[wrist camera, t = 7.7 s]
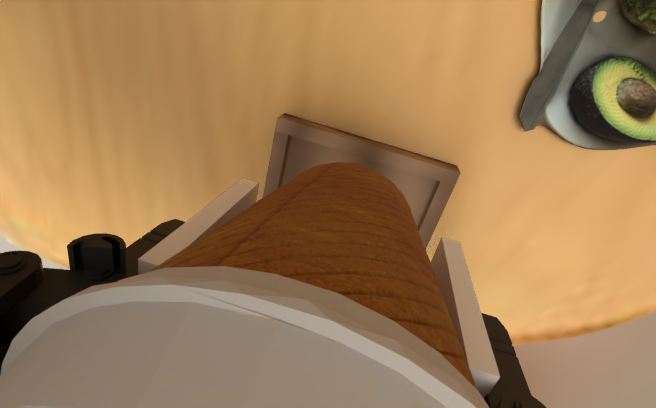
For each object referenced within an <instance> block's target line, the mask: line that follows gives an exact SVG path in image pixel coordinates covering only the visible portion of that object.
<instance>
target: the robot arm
mask: <svg viewBox="0 0 656 408" xmlns="http://www.w3.org/2000/svg"><path fill="white" fill-rule="evenodd" d="M258 185H259V183H257V182H254V181H250V180H247V179H244V178H242V179H241V180H240V181H238V182H237V183H236V184H234V185H233V186H232V187H231V188H229V189H228V190H227V191H225V192H224V193H223V194H221V195H220V196H219V197H218V198H216V199H215V200H214V201H212V202H211V203H210V204H209V205H207V206H206V207H205V208H203V209H202V210H201V211H200V212H198V213H197V214H196V215H194V216H193V217H192V218H190V219H189V220H188V221H187V222H183V221H180V220H177V219H174V220H170V221H167V222H164V223H161V224H160V225H158V226H157V227H156V228H154V229H153V230H151V232H148V233H147V234H146V235H144V236H143V237H142V239H141V238H140V239H138V240H137V241H136V242H134V243H133V244H131V245H130V246H128V247H127V248H126V243H125V242H124V240H123V239H122V238H120V237H118V236H116V235H111V234H91V235H86V236H82V237H80V238H78V239H75V240H73V241H72V242H71V243H70V244H68V245H67V249H68V256H69V264H70V270H64V269H50V268H43V267H42V261H41V258H40V257H39V256H38V255H37V254H35V253H32V252H29V251H11V252H4V253H0V375H1V368H2V363H3V360H4V358H5V356H6V354H7V351H8V349H9V347H10V344H11V342H12V340H13V339H14V338H15V336H16V335H17V334H18V333H19V332H20V331H21V330H22V329H23V328H24V327H25V325H26V324H27V323H28V322H29V321H30V320H31V319H33V318H34V317H36V316H37V315H39V314H40V313H42V312H44V311H45V310H47V309H48V308H50V307H51V306H53V305H55V304H57V303H59V302H61V301H62V300H64V299H66V298H68V297H70V296H72V295H75V294H77V293H79V292H81V291H83V290H85V289H87V288H89V287H91V286H95V285H101V284H108V283H114V282H117V281H119V280H122V279H125V278H129V277H133V276H136V275H140V274H144V273H147V272H149V271H151V270H152V269H154V268H155V267H157V266H158V265H160V264H162V263H163V262H164V261H166V260H168V259H169V258H171V257H172V256H174V255H176V254H177V253H179V252H181V251H182V250H183V249H185V248H186V247H188V246H190V245H191V244H193V243H194V242H196V241H198V240H199V239H200V238H202V237H203V236H205V235H206V234H208V233H210V232H211V231H213V230H214V229H216V228H217V227H219V226H220V225H222V224H224V223H225V222H227V221H228V220H230V219H231V218H233V217H235V216H236V215H238V214H239V213H241V212H242V211H244V210H246V209H247V208H249V207H250V206H252V205H253V204H255V203H256V199H257V192H258ZM430 264H431V266H432V269H433V271H434V274H435V277H436V280H437V282H438V285H439V289H440V291H441V293H442V295H443V298H444V302H445V305H446V307H447V310H448V312H449V315H450V318H451V321H452V323H453V324H454V327H455V330H456V333H457V340H458V341H459V342H460V345H461V347H462V349H463V352H464V354H465V360H466V361H465V362H466V363H467V364H468V366H469V369H470V371H471V374H472V376H473V379H474V381H475V386H474V387H475V388H476V389H477V390H478V391H479V393H480V394H481V396H482V397H483V399H484V400H485V402H486V403H487V405H488V406H489V408H546V407H545V406H544V405H543V404H542V403H541V402H539V401H538V400H537V399H535V398H534V397H533V396H531V393H530V391H529V388H528V385H527V382H526V380H525V377H524V374H523V372H522V369H521V366H520V364H519V361H518V358H517V357H516V353H515V350H514V347H513V346H512V342H511V339H510V337H509V334H508V331H507V330H506V329H505V327H504V326H503V325H502V324H501V322H500V321H499V320H498V319H497V318H496V317H493V316H489V315H486V314H483V313H481V311H480V307H479V304H478V301H477V297H476V294H475V291H474V287H473V284H472V281H471V277H470V274H469V271H468V267H467V264H466V261H465V257H464V254H463V250H462V247H461V244H460V242H458V241H455V240H451V239H448V238H444V237H442V238H441V240H440V242H439V244H438V247H437V249H436V251H435V254H434V256H433V258H432V261H431V263H430Z"/></svg>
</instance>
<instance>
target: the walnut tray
mask: <svg viewBox="0 0 656 408" xmlns="http://www.w3.org/2000/svg"><path fill="white" fill-rule="evenodd" d="M335 162H346V163H355V164H359V165H362V166H366V167H368V168H370V169H372V170H374V171H376V172H378V173H380V174H382V175H384V176H385V177H386V178H387V179H389V180H390V181H391V182H393V183H394V184H395V185H396V187H397V188H398V189H399V190H400V191H401V192H402V194H403V195H404V197H405V199H406V200H407V202H408V204H409V206H410V209H411V212H412V215H413V218H414V220H415V223H416V226H417V229H418V231H419V234H420V237H421V239H422V242H423V245H424V247H425V249H426V247H427V245H428V243H429V241H430V238H431V236H432V234H433V232H434V230H435V227H436V225H437V223H438V221H439V219H440V217H441V214H442V212H443V210H444V208H445V206H446V203H447V201H448V199H449V197H450V195H451V193H452V190H453V188H454V186H455V184H456V182H457V179H458V177H459V175H460V171H459V169H458V167H457V166H456V165H453V164H449V163H446V162H443V161H440V160H436V159H433V158H430V157H426V156H423V155H420V154H417V153H413V152H410V151H407V150H403V149H400V148H397V147H394V146H390V145H387V144H384V143H380V142H377V141H374V140H370V139H367V138H364V137H361V136H357V135H354V134H351V133H347V132H344V131H341V130H338V129H334V128H331V127H328V126H324V125H321V124H318V123H315V122H311V121H308V120H305V119H301V118H298V117H295V116H291V115H288V114H283V115H281V116H279V117H278V119H277V124H276V130H275V135H274V141H273V146H272V151H271V157H270V162H269V168H268V173H267V178H266V184H265V189H264V195H263V198H264V197H266V196H267V195H269V194H271V193H272V192H274V191H275V190H277V189H278V188H280V187H281V186H283V185H285V184H286V183H288V182H289V181H291V180H292V179H294V178H295V177H297V176H298V175H299V174H301V173H303V172H304V171H306V170H308V169H310V168H312V167H315V166H318V165H321V164H327V163H335Z"/></svg>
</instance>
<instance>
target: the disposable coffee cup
mask: <svg viewBox="0 0 656 408" xmlns="http://www.w3.org/2000/svg"><path fill="white" fill-rule="evenodd" d="M465 361H466V360H465V354H464V352H463V349H462V347H461V345H460V342H459V341H458V340H457V333H456V330H455V327H454V324H453V323H452V321H451V318H450V315H449V312H448V310H447V307H446V305H445V302H444V298H443V295H442V293H441V291H440V289H439V285H438V282H437V280H436V277H435V274H434V271H433V269H432V266H431V264H430V260H429V258H428V256H427V253H426V249H425V247H424V245H423V242H422V239H421V237H420V234H419V231H418V229H417V226H416V223H415V220H414V218H413V215H412V212H411V209H410V206H409V204H408V202H407V200H406V199H405V197H404V195H403V194H402V192H401V191H400V190H399V189H398V188H397V187H396V185H395V184H394V183H393V182H391V181H390V180H389V179H387V178H386V177H385V176H384V175H382V174H380V173H378V172H376V171H374V170H372V169H370V168H368V167H366V166H362V165H359V164H355V163H346V162H335V163H327V164H321V165H318V166H315V167H312V168H310V169H308V170H306V171H304V172H303V173H301V174H299V175H298V176H297V177H295V178H294V179H292V180H291V181H289V182H288V183H286V184H285V185H283V186H281V187H280V188H278V189H277V190H275V191H274V192H272V193H271V194H269V195H267V196H266V197H264V198H263V199H261V200H259V201H258V202H257V203H255V204H253V205H252V206H250V207H249V208H247V209H246V210H244V211H242V212H241V213H239V214H238V215H236V216H235V217H233V218H231V219H230V220H228V221H227V222H225V223H224V224H222V225H220V226H219V227H217V228H216V229H214V230H213V231H211V232H210V233H208V234H206V235H205V236H203V237H202V238H200V239H199V240H198V241H196V242H194V243H193V244H191V245H190V246H188V247H186V248H185V249H183V250H182V251H181V252H179V253H177V254H176V255H174V256H172V257H171V258H169V259H168V260H166V261H164V262H163V263H162V264H160V265H158V266H157V267H155V268H154V269H152V270H151V271H149V272H147V273H144V274H140V275H136V276H133V277H129V278H125V279H122V280H119V281H117V282H114V283H108V284H101V285H95V286H91V287H89V288H87V289H85V290H83V291H81V292H79V293H77V294H75V295H72V296H70V297H68V298H66V299H64V300H62V301H61V302H59V303H57V304H55V305H53V306H51V307H50V308H48V309H47V310H45V311H44V312H42V313H40V314H39V315H37V316H36V317H34V318H33V319H31V320H30V321H29V322H28V323H27V324H26V325H25V327H24V328H23V329H22V330H21V331H20V332H19V333H18V334H17V335H16V336H15V338H14V339H13V340H12V342H11V344H10V347H9V349H8V351H7V354H6V356H5V358H4V360H3V363H2V368H1V375H0V408H489V406H488V405H487V403H486V402H485V400H484V399H483V397H482V396H481V394H480V393H479V391H478V390H477V389H476V388H475V387H474V386H475V381H474V379H473V376H472V374H471V371H470V369H469V366H468V364H467V363H466V362H465Z"/></svg>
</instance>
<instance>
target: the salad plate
mask: <svg viewBox="0 0 656 408" xmlns="http://www.w3.org/2000/svg"><path fill="white" fill-rule="evenodd" d="M602 10H603V11H606V12H607V15H606V17H605V19H604V20H602V21H601V22H593V16H594V14H595V13H596V12H598V11H602ZM540 27H541V64H540V71H539V74H538V76H537V77H536V78H535V79H534V80H533V82H532V85H531V87H530V89H529V91H528V93H527V95H526V98H525V101H524V103H523V107H522V110H521V113H520V117H519V119H520V121H521V123H522V125H523V129H524V132H525V131H529V130H533V129H534V128H535V127H536V126H537V125H543V126H545V127H547V128H549V129H550V130H551V131H553V132H554V133H555V134H557V135H558V136H560V137H561V138H562V139H563V140H565V141H567V142H569V143H571V144H574V145H577V146H579V147H582V148H586V149H595V150H617V149H628V148H636V147H643V146H650V145H656V0H542V6H541V16H540Z"/></svg>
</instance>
